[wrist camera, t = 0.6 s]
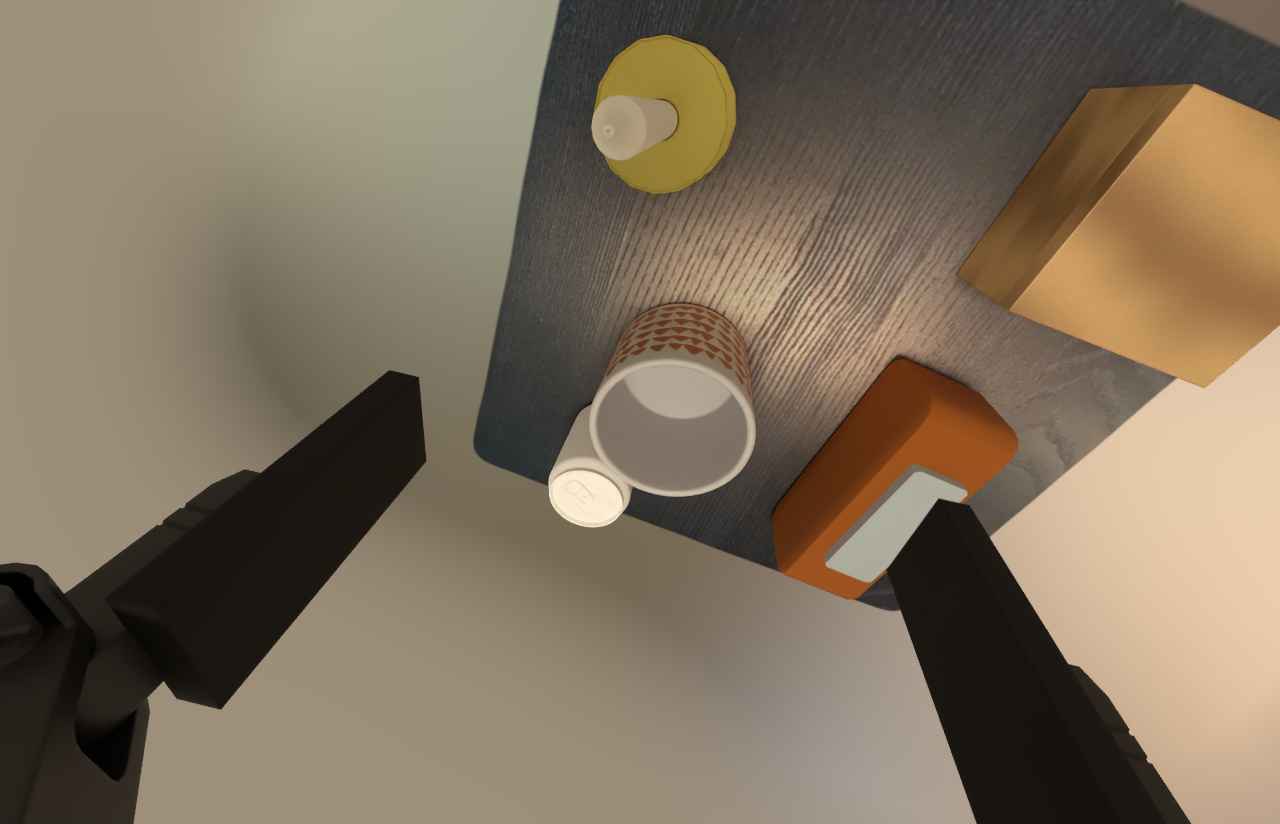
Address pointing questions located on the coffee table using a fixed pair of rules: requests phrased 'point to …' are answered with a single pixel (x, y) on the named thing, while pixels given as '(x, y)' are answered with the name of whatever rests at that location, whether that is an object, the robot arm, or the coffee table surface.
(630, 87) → the candle
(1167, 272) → the lidded tan carton
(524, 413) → the coffee table surface
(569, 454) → the beverage can
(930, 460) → the alarm clock
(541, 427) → the coffee table surface
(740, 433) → the planter
